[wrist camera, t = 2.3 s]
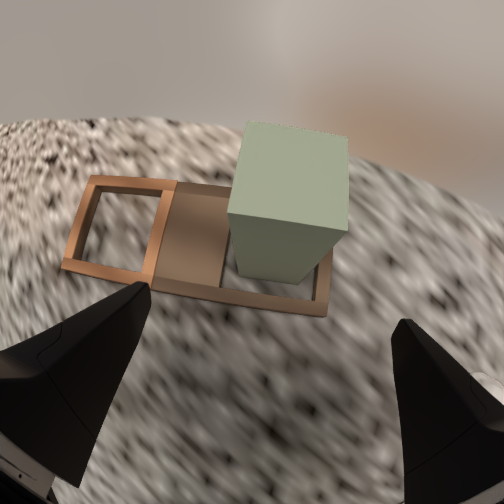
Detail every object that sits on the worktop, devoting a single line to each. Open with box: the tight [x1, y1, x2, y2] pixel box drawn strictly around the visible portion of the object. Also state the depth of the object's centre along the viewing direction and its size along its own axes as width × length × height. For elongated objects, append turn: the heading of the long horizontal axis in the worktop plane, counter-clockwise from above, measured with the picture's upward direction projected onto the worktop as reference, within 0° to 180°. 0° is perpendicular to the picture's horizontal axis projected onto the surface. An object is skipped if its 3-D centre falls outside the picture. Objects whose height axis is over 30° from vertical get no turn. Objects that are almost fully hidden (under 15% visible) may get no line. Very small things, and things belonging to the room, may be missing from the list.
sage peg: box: [227, 121, 349, 285], centre depth 17 cm, size 4×4×12 cm
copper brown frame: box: [61, 175, 333, 317], centre depth 22 cm, size 9×22×1 cm, turn 81°
